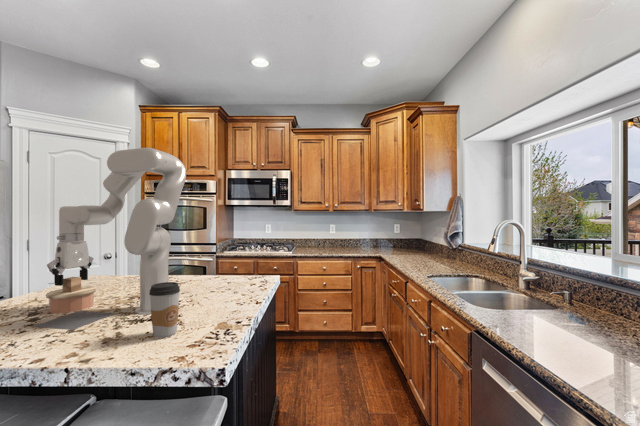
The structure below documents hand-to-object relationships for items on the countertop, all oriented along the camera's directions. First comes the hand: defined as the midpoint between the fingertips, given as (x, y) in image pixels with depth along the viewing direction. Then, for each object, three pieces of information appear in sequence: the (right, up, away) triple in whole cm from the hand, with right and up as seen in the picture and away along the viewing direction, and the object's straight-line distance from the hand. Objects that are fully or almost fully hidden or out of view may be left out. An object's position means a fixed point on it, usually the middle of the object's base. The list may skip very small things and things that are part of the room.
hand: (71, 282), depth 118 cm
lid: (0, -4, 0) cm, 4 cm away
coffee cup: (+49, -10, -26) cm, 56 cm away
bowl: (0, -10, 0) cm, 10 cm away
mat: (+13, -10, -14) cm, 21 cm away
